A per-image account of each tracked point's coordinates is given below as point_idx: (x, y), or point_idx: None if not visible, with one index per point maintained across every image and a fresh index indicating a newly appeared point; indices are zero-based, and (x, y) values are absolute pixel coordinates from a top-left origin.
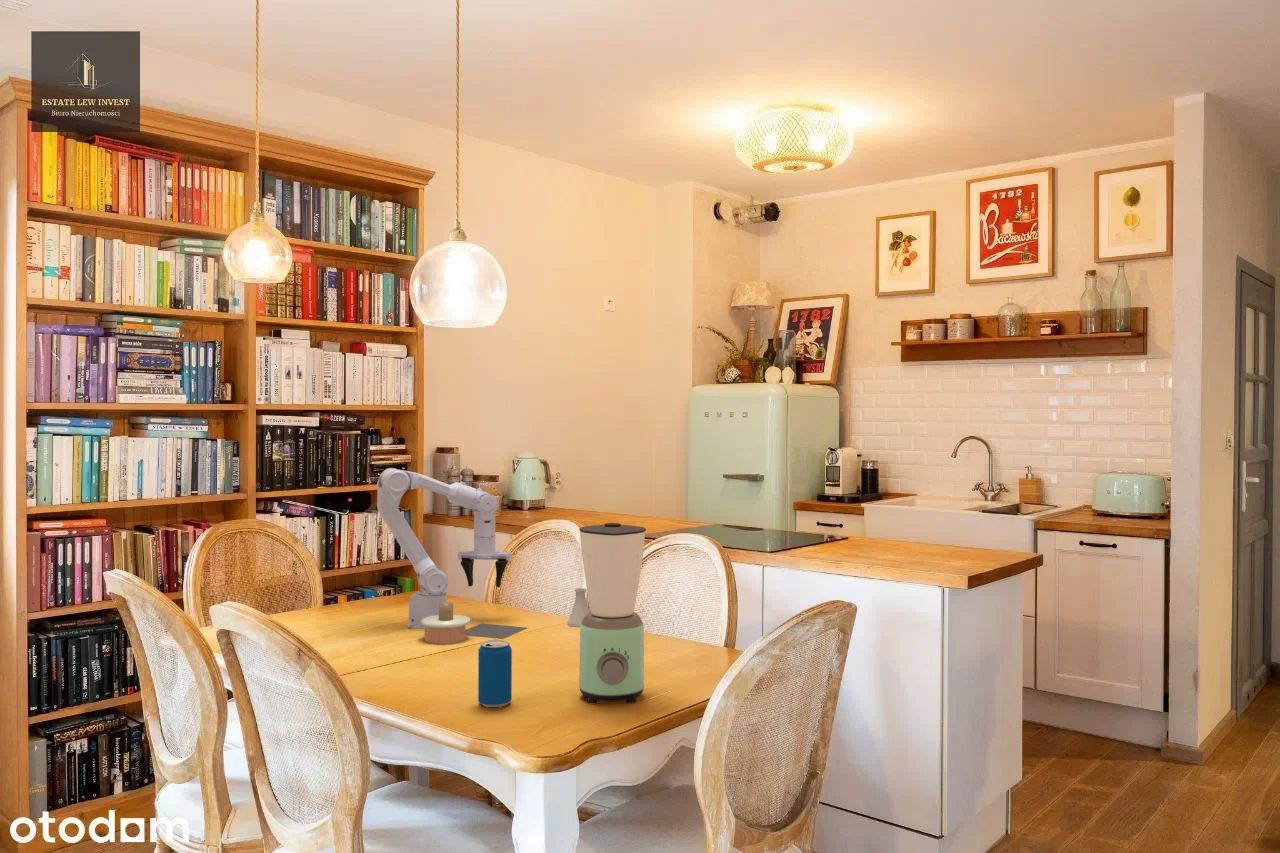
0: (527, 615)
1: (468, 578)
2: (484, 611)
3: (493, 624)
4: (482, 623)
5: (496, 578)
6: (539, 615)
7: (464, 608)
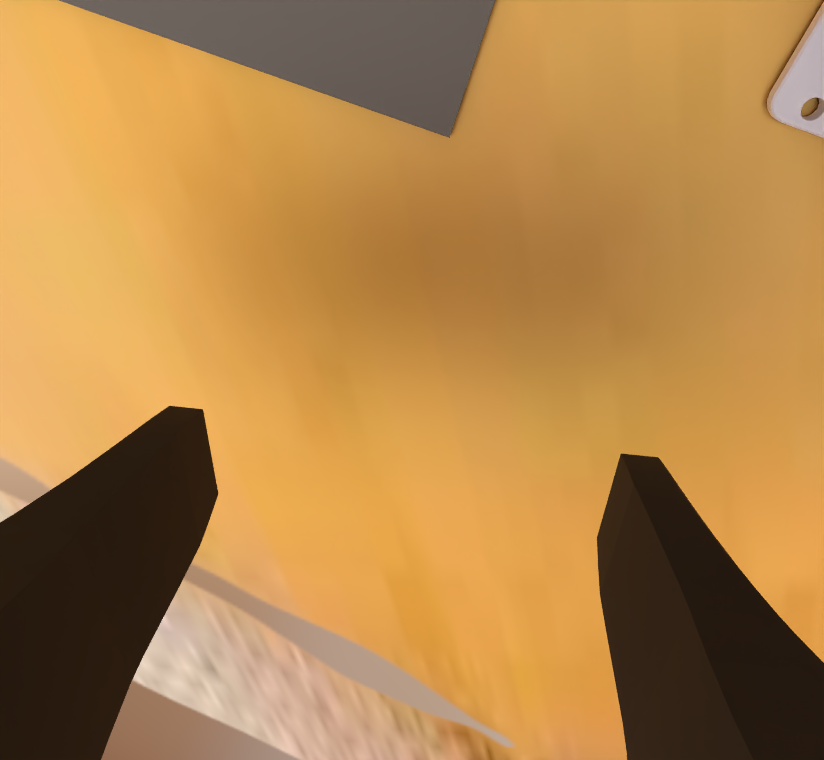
0: None
1: (693, 541)
2: (516, 582)
3: (319, 90)
4: (442, 130)
5: (116, 484)
6: None
7: None
